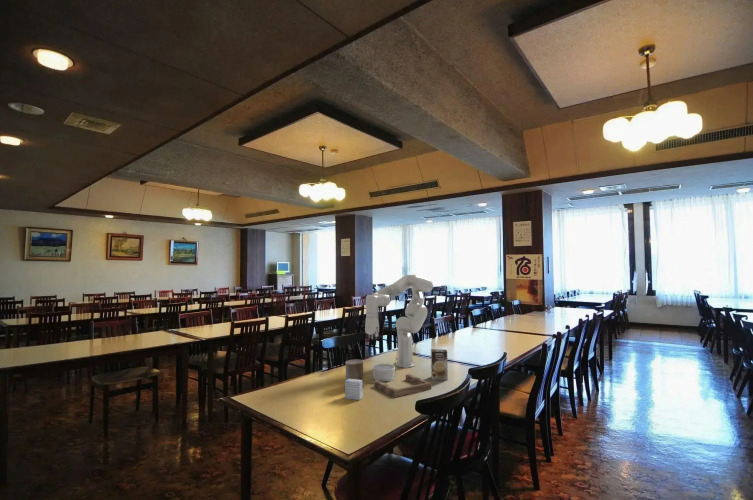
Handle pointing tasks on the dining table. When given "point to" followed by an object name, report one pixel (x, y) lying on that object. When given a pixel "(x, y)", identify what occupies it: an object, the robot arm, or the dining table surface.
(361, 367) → the pillar candle
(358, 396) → the medicine box
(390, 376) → the ramekin
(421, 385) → the display stand
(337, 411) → the dining table surface
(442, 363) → the coffee box
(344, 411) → the dining table surface
